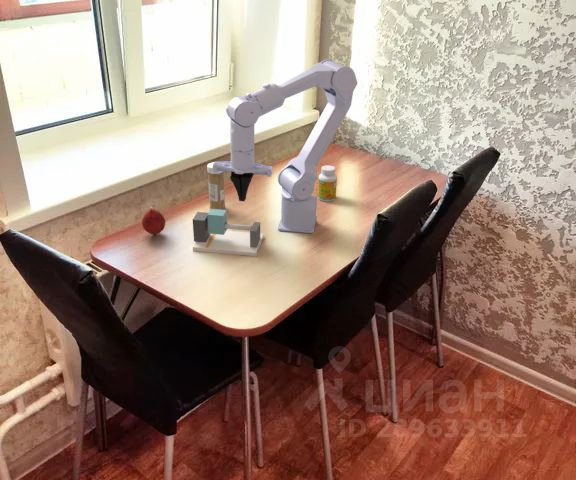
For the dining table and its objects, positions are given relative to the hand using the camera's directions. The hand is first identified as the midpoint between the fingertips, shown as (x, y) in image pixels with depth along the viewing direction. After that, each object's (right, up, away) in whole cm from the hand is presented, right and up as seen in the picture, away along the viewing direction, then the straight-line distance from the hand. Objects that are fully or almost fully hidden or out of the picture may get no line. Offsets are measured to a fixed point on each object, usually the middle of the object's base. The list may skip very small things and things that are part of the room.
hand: (242, 199), depth 145 cm
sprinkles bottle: (-9, -1, +19) cm, 21 cm away
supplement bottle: (+23, +2, +26) cm, 35 cm away
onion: (-23, -9, +5) cm, 25 cm away
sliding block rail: (-4, -11, +1) cm, 12 cm away
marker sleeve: (-6, -8, 0) cm, 10 cm away
